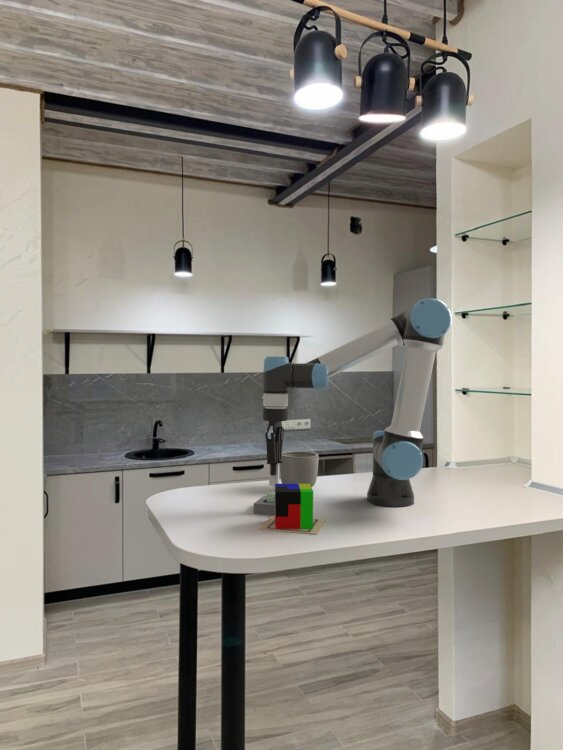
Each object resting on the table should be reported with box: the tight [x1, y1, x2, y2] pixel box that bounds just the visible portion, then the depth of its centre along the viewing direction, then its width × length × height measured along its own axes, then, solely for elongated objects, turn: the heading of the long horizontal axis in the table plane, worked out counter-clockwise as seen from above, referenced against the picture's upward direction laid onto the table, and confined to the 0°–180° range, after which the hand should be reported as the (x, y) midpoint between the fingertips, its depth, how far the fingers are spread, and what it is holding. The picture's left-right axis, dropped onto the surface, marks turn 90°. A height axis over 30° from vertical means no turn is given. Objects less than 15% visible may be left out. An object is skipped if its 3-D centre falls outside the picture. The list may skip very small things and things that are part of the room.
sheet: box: [257, 515, 327, 535], centre depth 151 cm, size 16×13×1 cm
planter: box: [278, 450, 320, 488], centre depth 192 cm, size 14×14×13 cm
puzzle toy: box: [274, 483, 314, 529], centre depth 151 cm, size 10×10×10 cm
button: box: [265, 491, 275, 503], centre depth 166 cm, size 5×5×4 cm
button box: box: [253, 495, 275, 516], centre depth 166 cm, size 10×10×3 cm
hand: (274, 485), depth 166 cm, fingers closed
